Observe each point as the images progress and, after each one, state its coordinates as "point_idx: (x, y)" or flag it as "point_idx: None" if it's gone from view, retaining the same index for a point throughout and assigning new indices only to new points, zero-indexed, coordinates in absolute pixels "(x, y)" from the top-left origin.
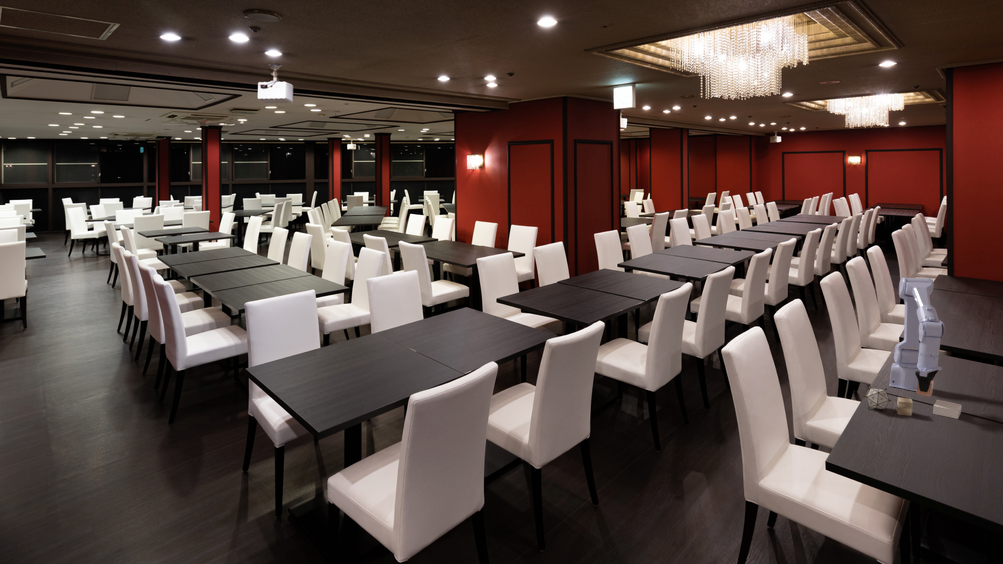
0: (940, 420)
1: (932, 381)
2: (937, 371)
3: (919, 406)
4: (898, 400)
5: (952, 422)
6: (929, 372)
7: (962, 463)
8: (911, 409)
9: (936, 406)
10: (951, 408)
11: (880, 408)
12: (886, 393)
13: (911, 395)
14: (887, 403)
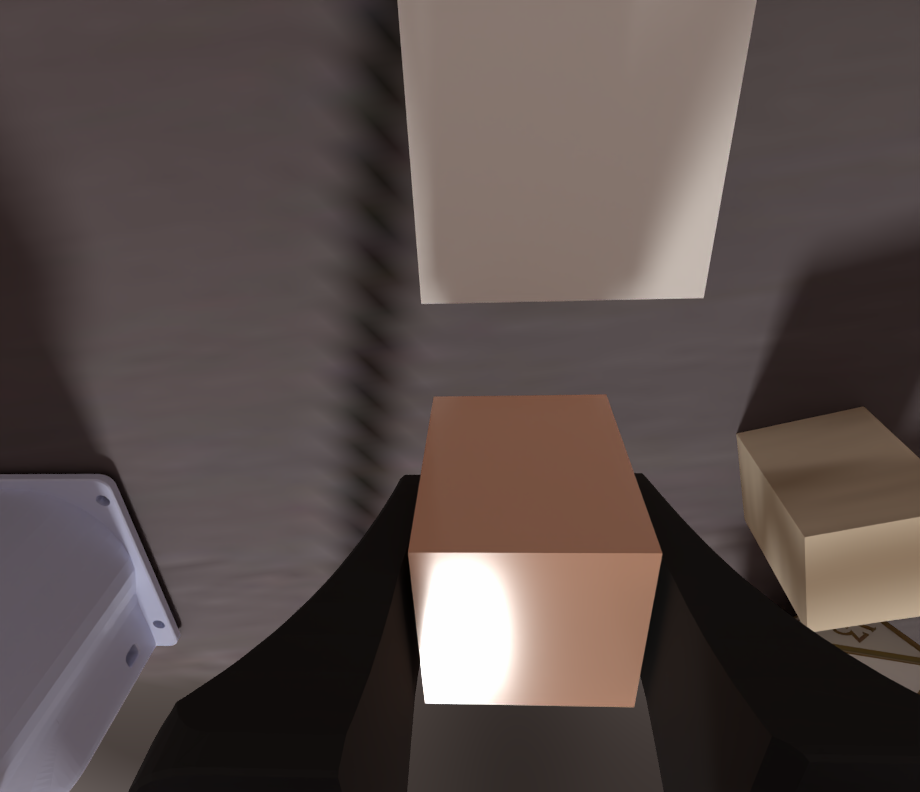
0: (874, 149)
1: (495, 561)
2: (344, 762)
3: None
4: (898, 610)
5: (890, 3)
6: (379, 783)
7: None
8: (908, 455)
9: (706, 264)
10: (699, 73)
11: None
12: None
13: (252, 492)
14: (907, 637)
